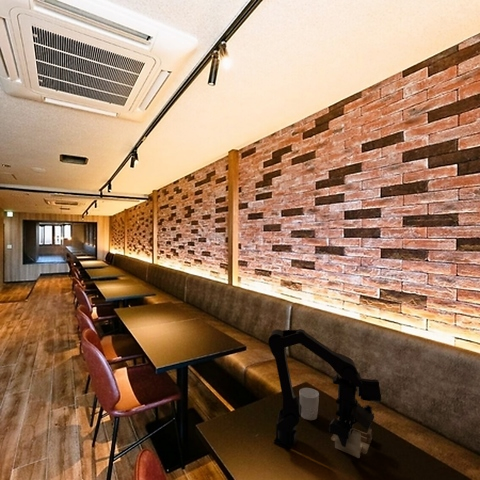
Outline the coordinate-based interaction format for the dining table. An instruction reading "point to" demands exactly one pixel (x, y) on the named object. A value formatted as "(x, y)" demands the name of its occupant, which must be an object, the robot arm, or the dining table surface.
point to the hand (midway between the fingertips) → (345, 442)
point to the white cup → (309, 403)
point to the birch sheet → (350, 444)
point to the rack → (362, 439)
